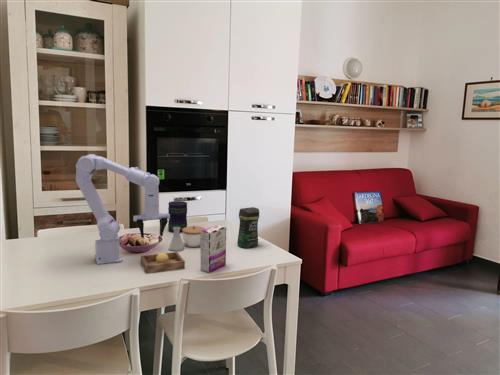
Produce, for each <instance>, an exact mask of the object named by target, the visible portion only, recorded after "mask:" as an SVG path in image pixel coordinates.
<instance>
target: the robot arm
mask: <svg viewBox="0 0 500 375" xmlns="http://www.w3.org/2000/svg"><path fill="white" fill-rule="evenodd" d="M75 168H76V170H75V182H76V184H77V187H78V188H79V190H80V192H81V193H82V196H83V198H84V199H85V201H86V203H87V204H88V207H89V208H90V210H91V212H92V214H93V216H94V217H95V219H96V226H97V229H98V231H99V233H98V234H99V237H100V238H99V239H96V240H94V241H95V242H94V243H95V244H94V246H95V254H94V257H95V260H96V265H100V264H112V263H118V262H121V263H122V258H121V257H122V256H121V255H120V254H121V253H120V236H119V235H118V233H119V232H120V229H121V226H120V224H119V223H118V222H117V221H116V220H115V219H114V217H113V216H112V215H111V214H110V213H109V212H108V210H107V208H106V205H105V204H104V202H103V200H102V198H101V196H100V194H99V193H98V191H97V189H96V187H95V185H94V183H93V182H92V177H93V174H94V173H95V172H96V171H97V170H98V171H99V170H104V169H105V170H107V171H110V172H114V174H115V173H116V174H118V175H121V176H124V177H125V179H126V181H128V182H130V183H133V184H135V185H138V186H140V187H143V188H144V213H143V214H138V215H133V216H132V217H133V218H132V220H133V222H136V224H137V226H138V229H139V232H140V237H141V239H144V238H145V235H144V234H145V232H144V226H145V223H144V221H150V220H159V236H160V237H163V235H164V231H165V228H166V227H167V225H168V221H169V219H170V214H169V213H168V212H167V213H162V212H161V213H160V193H159V192H160V191H159V185H160V179H159V177H158V176H157V175H156V174H154V173H152V174H151V173H150V172H148V171H147V172H145V171H143V170H141V169H139V167H137V166H135V167H133V166H132V167H125V166H124V165H121V164H119V163H117V162H114V161H113V160H110V159H109V158H106V157H105V156H101V155H97V154H94V153H89V154H87V155H82V156H80V157H79V158H78V160H77V162H76V164H75Z"/></svg>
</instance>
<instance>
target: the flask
mask: <svg viewBox="0 0 500 375" xmlns="http://www.w3.org/2000/svg"><path fill="white" fill-rule="evenodd" d="M173 230H174V233H173V236H172V238H171V242H170V244H169V246H168V251H173V252H181V251H183V250H185V245H184V242H183V238H182V236H181V233H180V227H174V228H173Z"/></svg>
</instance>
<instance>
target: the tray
mask: <svg viewBox="0 0 500 375" xmlns="http://www.w3.org/2000/svg"><path fill="white" fill-rule="evenodd" d="M165 253H166V254H167V255H168V258H169V260H168V262H167V263H159V264H158V263H157V262H156V257H157V255H158V254H159V253H153V254H146V255H140V265H141V266H142V267H143V270H144V272H145V274H152V273H153V274H154V273H160V272H161V273H162V272H169V271H176V270H177V271H178V270H185V266H186V265H185V264H186V263H185V262H186V261H185V260H184V259H183V257H182V256H181V254H179V251H173V252H165Z"/></svg>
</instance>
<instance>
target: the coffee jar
mask: <svg viewBox="0 0 500 375" xmlns="http://www.w3.org/2000/svg"><path fill="white" fill-rule="evenodd" d="M238 218H239V228H238V236H237V246H238V247H240V248H244V249H247V248H248V249H249V248H250V247H251V248H254V247H258V245H259V232H258V229H259V228H258V227H259V226H258V222H259V219H260V209H259V208H257V207H253V206H252V207H244V208H241V207H240V209H239V211H238Z"/></svg>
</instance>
